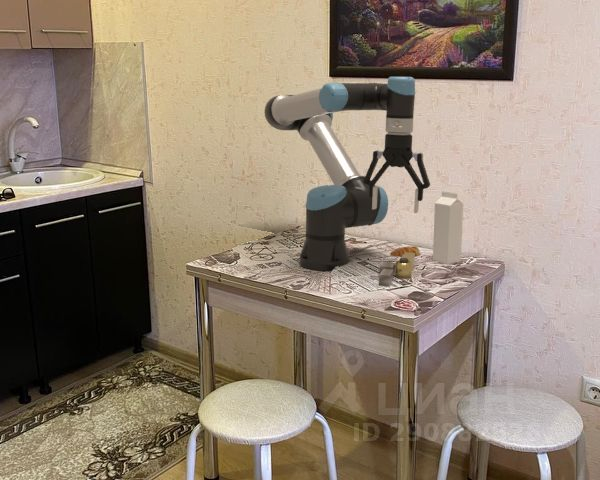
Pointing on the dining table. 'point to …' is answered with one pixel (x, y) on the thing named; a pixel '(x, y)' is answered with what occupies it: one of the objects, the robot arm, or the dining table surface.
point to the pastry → (405, 249)
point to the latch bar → (405, 266)
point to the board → (388, 272)
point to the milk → (448, 229)
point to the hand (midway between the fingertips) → (395, 210)
